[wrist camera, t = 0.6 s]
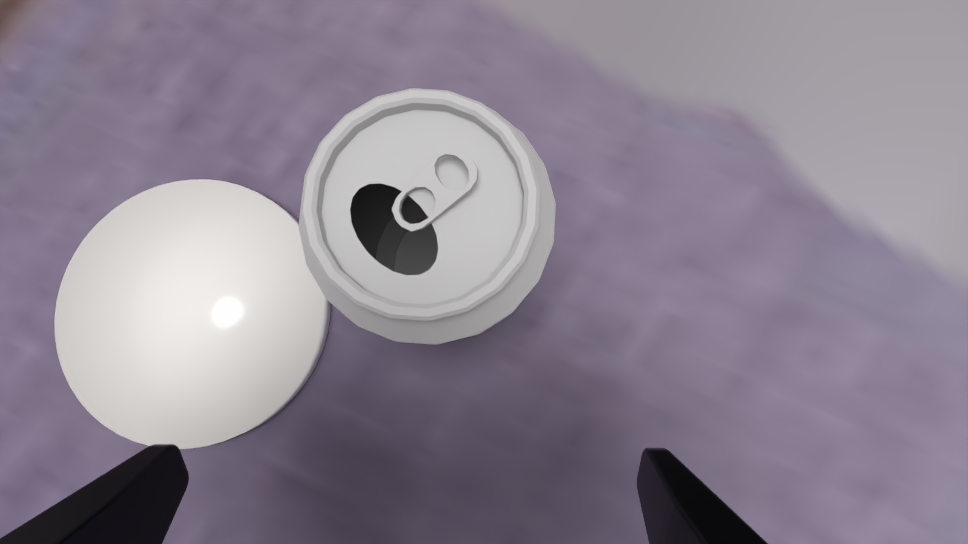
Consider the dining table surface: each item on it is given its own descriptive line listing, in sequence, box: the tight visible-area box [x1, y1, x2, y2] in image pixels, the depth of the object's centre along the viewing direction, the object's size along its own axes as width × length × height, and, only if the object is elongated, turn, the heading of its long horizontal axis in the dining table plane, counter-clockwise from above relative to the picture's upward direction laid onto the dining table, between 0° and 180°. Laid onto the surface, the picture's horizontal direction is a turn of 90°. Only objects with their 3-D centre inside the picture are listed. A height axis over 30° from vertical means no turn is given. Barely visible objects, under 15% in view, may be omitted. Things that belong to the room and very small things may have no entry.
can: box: [299, 88, 556, 345], centre depth 18 cm, size 8×8×12 cm
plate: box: [55, 180, 331, 449], centre depth 23 cm, size 13×13×1 cm
